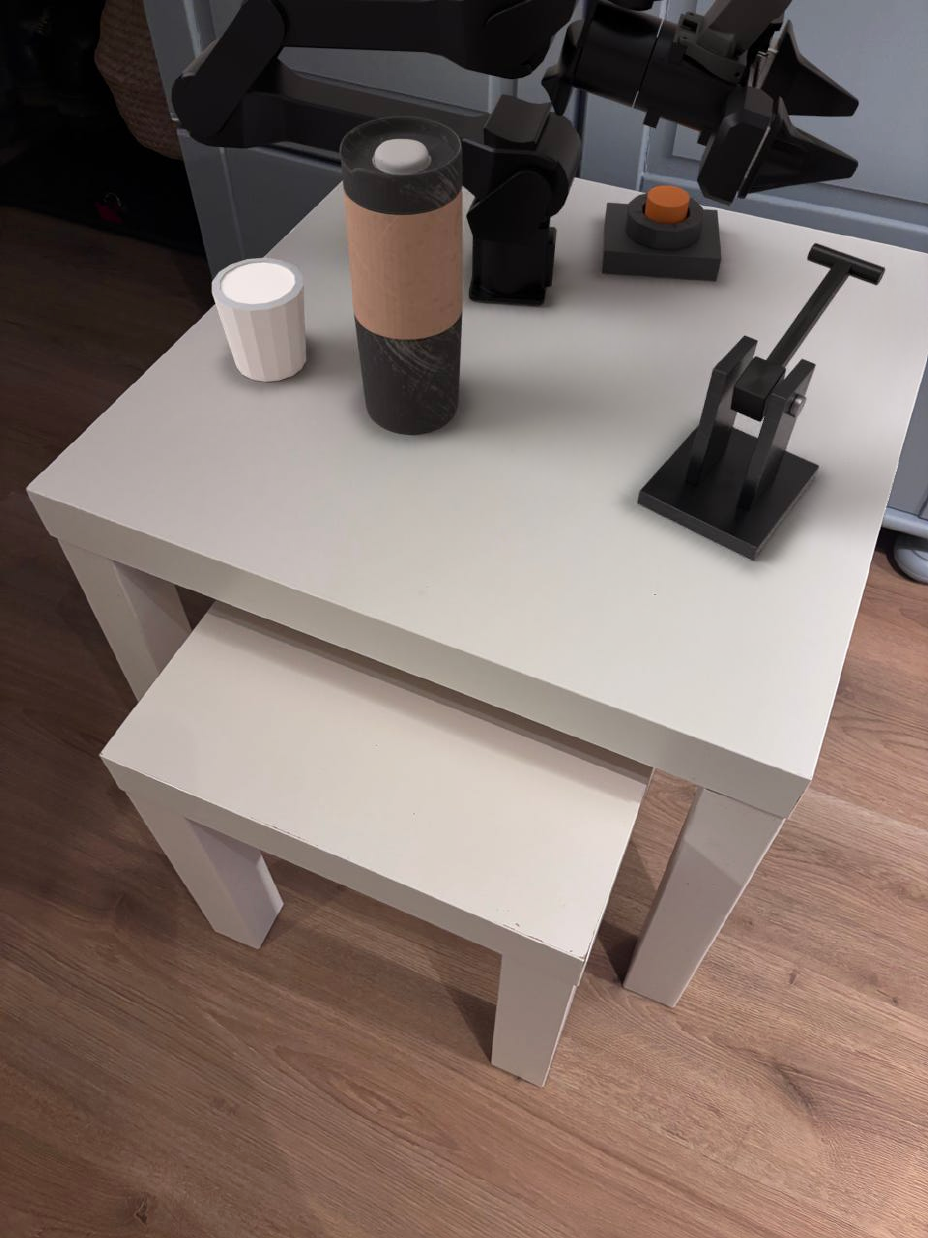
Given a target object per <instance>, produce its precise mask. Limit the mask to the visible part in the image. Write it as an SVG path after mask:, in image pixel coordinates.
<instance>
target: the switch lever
mask: <svg viewBox="0 0 928 1238" xmlns="http://www.w3.org/2000/svg"><path fill="white" fill-rule="evenodd" d="M806 257H807V258H806V261H808V262H811V263H813V264H816V265H819V266H821V267H824V268H827V269H829V270H828V271H827V273H826V274H825V276H824V277H823V279H822V280H821V281H820V283H819V284H818V286H817V287H816V288H815V290H814V291H813V293H812V294H811V296H810V297H809V299H808V300H807V301H806V303H805V304H804V305H803V307H802V308H801V309H800V310H799V312H798V314H797V315H796V317H795V318H794V319H793V321H792V323H791V324H790V325H789V327H788V328H787V329H786V331H785V332H784V334H783V335H782V337H781V338H780V340H779V341H778V342H777V344H776V345H775V347H773V349H772V350H771V352H770V354H769V355H768V356H767V358H766V359H764V358H762V357H759V356H757V355H754V356H753V360H752V361H751V362H750V364H749V365H748V367H747V368H746V369H745V371H744V372H743V374H742V375H741V376H740V378H739V379H738V381H737V382H736V383H735V385H734V388H733V394H732V401H731V407H730V409H731V410H733V411H736V412H737V414H740V415H743V416H745V417H747V418H749V419H751V420H755V421H756V422H759V423H762V422H763V420H764V416H765V413H766V410H767V407H768V404H769V401H770V398H771V395H772V393H773V392H774V391H775V390H776V388H777V387H778V386H779V385H780V384H781V383H782V381H783V380H784V379H785V378H786V373H787V368H786V367H787V366H788V364H789V363H790V362H791V360H792V359H793V357H794V356H795V354H797V351H798V350H799V349H800V348H801V345H802V344H803V343H804V341H805V340H806V338H807V337H808V335H809V334H810V333H811V332H812V330H813V329H814V327H815V326H816V324H817V322H818V321H819V320H820V319H821V317H822V316H823V314H824V313H825V312H826V310H827V308H828V307H829V305H830V304H831V303H832V302H833V300H834V299H835V297H836V295H837V294H838V293H839V291H840V290H841V288H842V287H843V286H844V284H845V282H846V281H847V280H848V279H849V277H851V278H854V279H857V280H860V281H862V282H866V283H868V284H871V285H872V286H878V285H879V284H880V282H881V281H882V279H883V277H884V275H885V273H886V267H885V266H882V265H879V264H877V263H873V262H870V261H868V260H865V259H862V258H859V257H858V256H857V257H856V256H854V255H851V254H848V253H845V252H843V251H840V250H838V249H835V248H832V247H830V246H829V247H828V246H826V245H824V244H820V243H818V242H814V243H813V244H812V246H811V247H810V249H809V251H808V254H807V256H806Z"/></svg>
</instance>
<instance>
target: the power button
mask: <svg viewBox="0 0 928 1238" xmlns="http://www.w3.org/2000/svg"><path fill="white" fill-rule="evenodd" d="M647 193H648V196H647V202H646V208H645V216H646V217H647V218H648V219H650V220H653V221H656V222H658V223H667V224H675V223H679V222H683V221H684V220H685V219H686V215H687V210H688V205H689V200H690V198H691V197H690V194H689V193H688V192H687V190H685V189H683V188H680V187H678V186H674V185H657V186H654V187H653V188H651V189H650V190H649V191H648V192H647Z"/></svg>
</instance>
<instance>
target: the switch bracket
mask: <svg viewBox="0 0 928 1238" xmlns="http://www.w3.org/2000/svg"><path fill="white" fill-rule="evenodd" d="M758 342H759V341H758V339H756V338H753V337H751V336H748V335H745V334H744V335H743V336H742V337H741V338H740V339H739V340H738V341H737V342H736V343H735V344H734V345H733V346H732V348H731V349H730V350H729V351H728V352H727V353H726V355H724V356H723V357H722V359H721V360H720V361H718V362H717V363H716V365H715V366H714V367H713V368H712V371H711V375H710V378H709V382H708V386H707V390H706V395H705V399H704V402H703V407H702V409H701V410H702V411H701V414H700V417H699V418H700V419H699V422H698V425H697V426H696V427H695V428H694V430H692V432H691V433H690V434H689V435H688V436H687V437H686V439H684V440H683V442H682V443H680V445H679V446H678V448H677V449H675V451H674V452H672V454H671V455H670V457H668V459H667V460H666V461H665V462H664V463H663V464H662V465H661V466H660V468H658V470H657V471H656V472H654V474H653V475H652V476H651V477H650V478H649V480H648V481H647V482H646V483H644V486H643V487H642V488H641V489H640V490H638V491H639V492H638V496H637V500H636V503H637V504H639V505H640V506H642V507H644V508H646V509H648V510H651V511H652V512H654V513H656V514H659V515H660V516H663V517H664V518H667V519H669V520H670V521H672V522H674V523H677V524H678V525H680V526H683V527H685V528H687V529H689V530H690V531H693V532H695V533H696V534H699V535H701V536H703V537H704V538H707V539H709V540H711V541H713V542H715V543H717V544H718V545H721V546H723V547H725V548H727V549H728V550H731V551H733V552H735V553H737V554H739V555H741V556H742V557H745V558H747V559H748V560H751V561H754V560H755V558H756V557H757V556H758V555H759V553H760V552H761V550H762V549H763V548H764V546H765V545H766V544H767V542H768V541H769V540H770V538H771V537H772V536H773V534H774V533H775V532H776V530H777V529H778V528H779V527H780V525H781V524H782V522H783V521H784V520H785V518H786V517H787V516H788V514H789V513H790V511H792V509H793V508H794V506H795V505H796V504H797V502H798V501H799V500H800V499H801V497H802V496H803V494H804V493H805V492H806V490H807V489H808V487H809V486H810V485H811V484H812V482H813V481H814V479H815V478H816V476H817V474H818V471H819V468H820V465H818V464H817V463H815V462H812V461H810V460H808V459H805V458H803V457H801V456H798V455H797V454H794V453H792V452H790V451H788V450H787V448H788V444H789V442H790V439H791V437H792V433H793V431H794V428H795V425H796V422H797V420H798V418H799V416H800V415H801V413H802V411H803V409H804V407H805V404H806V403H807V396H806V394H807V391H808V389H809V385H810V383H811V381H812V378H813V375H814V372H815V369H816V366H817V363H815V362H812V361H810V360H807V359H804V358H801V359H800V360H799V361H798V362H797V364H796V365H795V366H794V367H793V369H791V371H790V372H789V373H788V374H787V375H786V376H785V377H784V380H783V381H782V383H781V384H780V385H779V386H778V387H777V388H776V390H775V391H774V392H773V393H772V395H771V398H770V401H769V404H768V407H767V410H766V413H765V416H764V418H763V419H762V422H761V426H760V429H759V433H758V435H757V437H756V436H754V435H752V434H749V433H747V432H745V431H742V430H740V429H738V428H735V427H734V425H735V421H736V418H737V415H738V412H736V411H733V410H731V409H730V407H731V401H732V394H733V388H734V385H735V383H736V382H737V381H738V379H739V378H740V376H741V375H742V374H743V372H744V371H745V369H746V368H747V367H748V365H749V364H750V362H751V361H752V360H753V358H754V357H755V353H756V349H757V345H758Z"/></svg>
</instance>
